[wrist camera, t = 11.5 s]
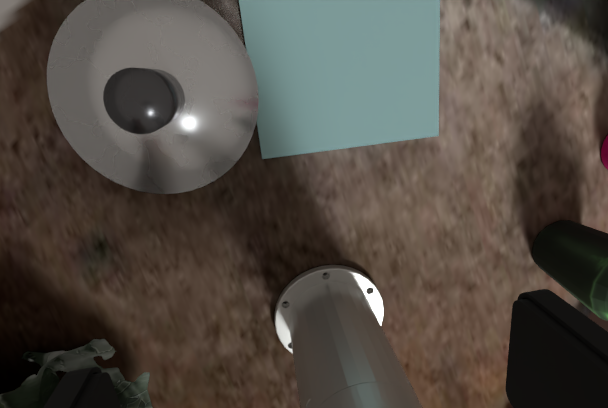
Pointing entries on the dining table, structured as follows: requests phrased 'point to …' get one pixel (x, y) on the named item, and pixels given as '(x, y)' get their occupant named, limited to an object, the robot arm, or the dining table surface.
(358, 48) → the teal mat
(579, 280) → the potion bottle
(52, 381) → the rose bouquet
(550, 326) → the robot arm
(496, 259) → the dining table surface
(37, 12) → the dining table surface
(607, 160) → the pepper mill
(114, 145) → the metal lid
